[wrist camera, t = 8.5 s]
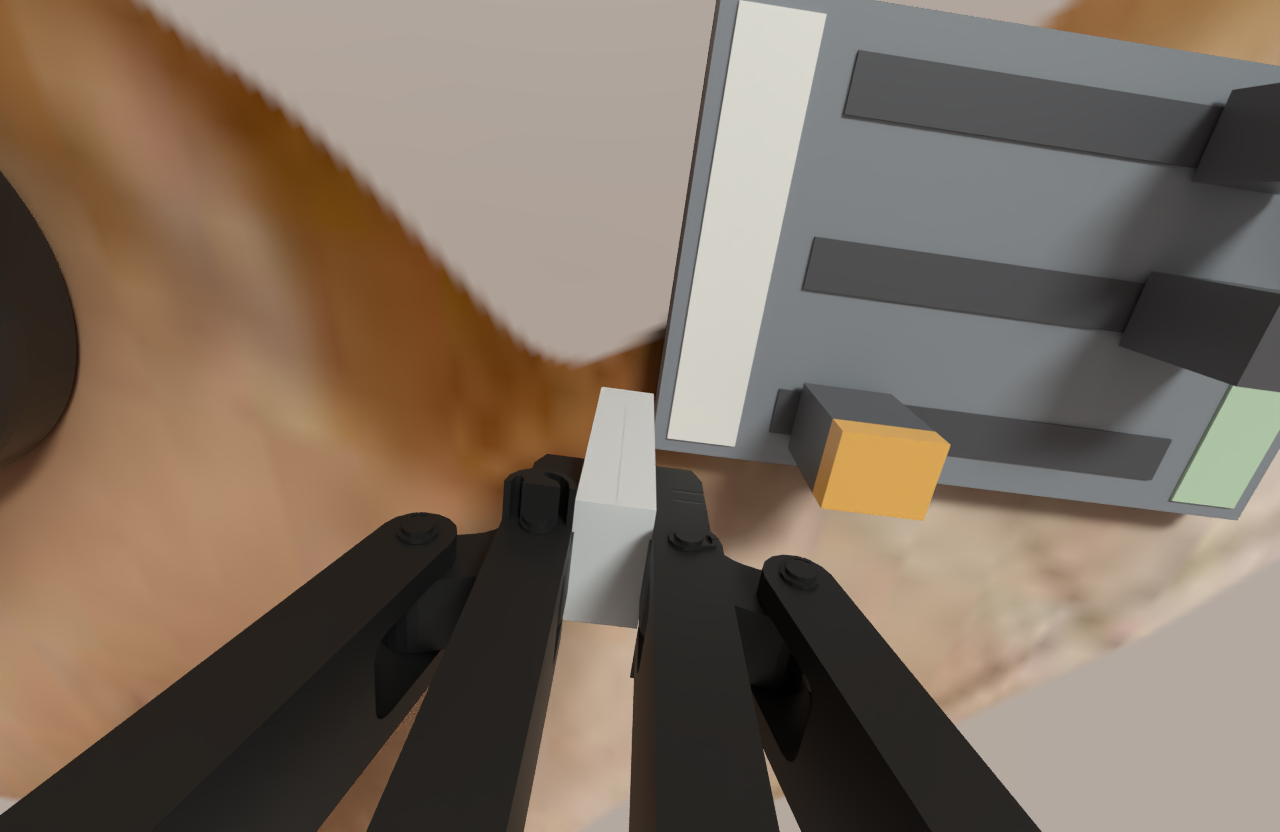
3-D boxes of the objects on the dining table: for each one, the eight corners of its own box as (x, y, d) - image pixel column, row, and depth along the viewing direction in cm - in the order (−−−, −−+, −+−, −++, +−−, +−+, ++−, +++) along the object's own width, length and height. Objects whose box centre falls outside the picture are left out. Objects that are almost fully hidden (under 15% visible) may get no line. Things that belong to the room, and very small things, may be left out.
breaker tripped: (787, 447, 21) (820, 508, 17) (803, 382, 20) (842, 431, 16) (871, 458, 21) (923, 520, 17) (891, 393, 20) (950, 444, 16)
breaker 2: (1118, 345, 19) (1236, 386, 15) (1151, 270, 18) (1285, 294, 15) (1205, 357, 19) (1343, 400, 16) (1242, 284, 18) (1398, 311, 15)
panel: (650, 431, 22) (651, 449, 21) (717, -8, 17) (724, -26, 16) (1201, 500, 23) (1239, 521, 22) (1420, 105, 18) (1489, 99, 17)
